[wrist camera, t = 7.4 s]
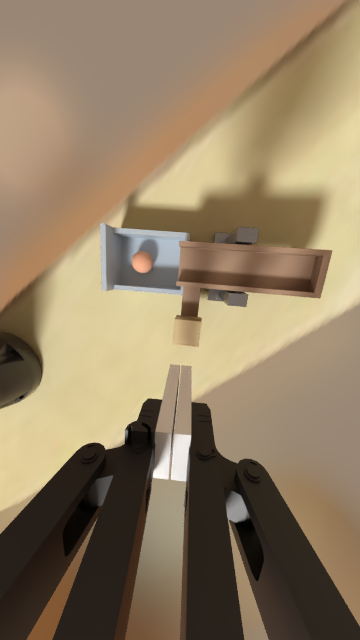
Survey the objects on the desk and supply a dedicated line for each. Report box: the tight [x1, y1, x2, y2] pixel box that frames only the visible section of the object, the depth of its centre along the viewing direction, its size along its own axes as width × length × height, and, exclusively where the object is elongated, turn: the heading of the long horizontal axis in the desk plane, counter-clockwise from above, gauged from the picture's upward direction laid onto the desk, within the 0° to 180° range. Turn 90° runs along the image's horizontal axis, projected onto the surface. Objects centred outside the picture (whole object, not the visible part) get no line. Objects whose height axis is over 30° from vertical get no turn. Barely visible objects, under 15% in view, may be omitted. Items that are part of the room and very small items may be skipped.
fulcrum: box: [208, 227, 259, 307], centre depth 29 cm, size 13×11×10 cm
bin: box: [100, 223, 190, 295], centre depth 31 cm, size 12×9×7 cm
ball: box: [132, 251, 153, 273], centre depth 32 cm, size 3×3×3 cm
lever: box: [173, 241, 332, 347], centre depth 27 cm, size 18×14×3 cm
